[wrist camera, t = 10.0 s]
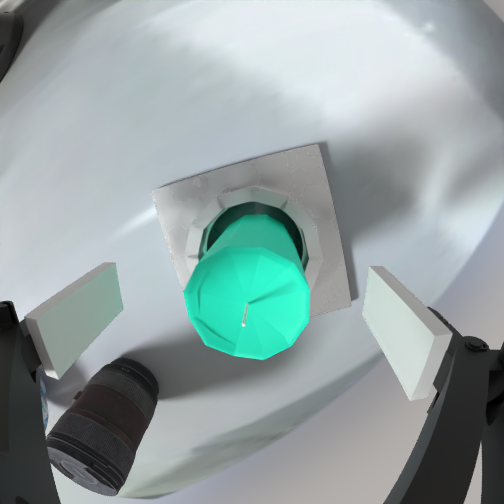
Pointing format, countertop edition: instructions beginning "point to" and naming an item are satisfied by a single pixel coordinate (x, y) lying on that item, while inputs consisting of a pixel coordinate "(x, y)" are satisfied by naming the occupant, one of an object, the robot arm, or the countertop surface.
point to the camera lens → (104, 427)
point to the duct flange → (258, 203)
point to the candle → (249, 290)
